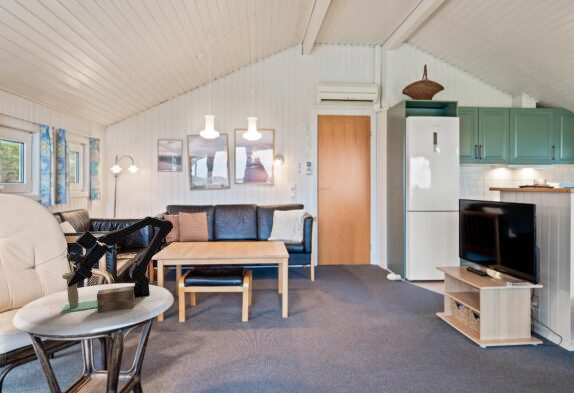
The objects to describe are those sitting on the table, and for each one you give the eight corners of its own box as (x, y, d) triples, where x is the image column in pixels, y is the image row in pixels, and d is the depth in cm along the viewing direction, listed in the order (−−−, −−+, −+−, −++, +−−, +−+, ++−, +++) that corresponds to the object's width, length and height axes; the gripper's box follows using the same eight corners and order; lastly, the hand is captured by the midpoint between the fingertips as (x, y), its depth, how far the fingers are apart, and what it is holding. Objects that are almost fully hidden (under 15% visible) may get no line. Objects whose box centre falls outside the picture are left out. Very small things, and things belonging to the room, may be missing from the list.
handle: (79, 308, 152) (76, 275, 151) (63, 309, 151) (60, 276, 150) (84, 303, 157) (81, 271, 156) (69, 305, 156) (65, 272, 155)
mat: (100, 300, 163) (100, 299, 163) (97, 308, 154) (97, 306, 154) (66, 305, 158) (65, 304, 158) (60, 313, 149) (60, 312, 149)
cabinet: (134, 303, 159) (133, 285, 158) (133, 308, 151) (132, 290, 151) (100, 308, 154) (98, 290, 153) (97, 314, 146) (96, 295, 146)
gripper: (77, 242, 162) (50, 270, 156) (81, 248, 147) (52, 279, 141) (97, 256, 167) (72, 284, 161) (103, 263, 152) (76, 294, 146)
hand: (67, 285), depth 152 cm, fingers closed on handle, 5 cm apart
